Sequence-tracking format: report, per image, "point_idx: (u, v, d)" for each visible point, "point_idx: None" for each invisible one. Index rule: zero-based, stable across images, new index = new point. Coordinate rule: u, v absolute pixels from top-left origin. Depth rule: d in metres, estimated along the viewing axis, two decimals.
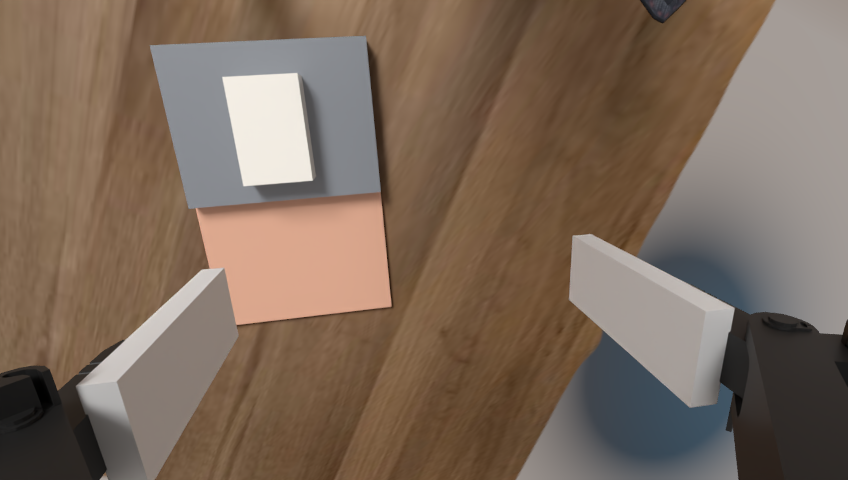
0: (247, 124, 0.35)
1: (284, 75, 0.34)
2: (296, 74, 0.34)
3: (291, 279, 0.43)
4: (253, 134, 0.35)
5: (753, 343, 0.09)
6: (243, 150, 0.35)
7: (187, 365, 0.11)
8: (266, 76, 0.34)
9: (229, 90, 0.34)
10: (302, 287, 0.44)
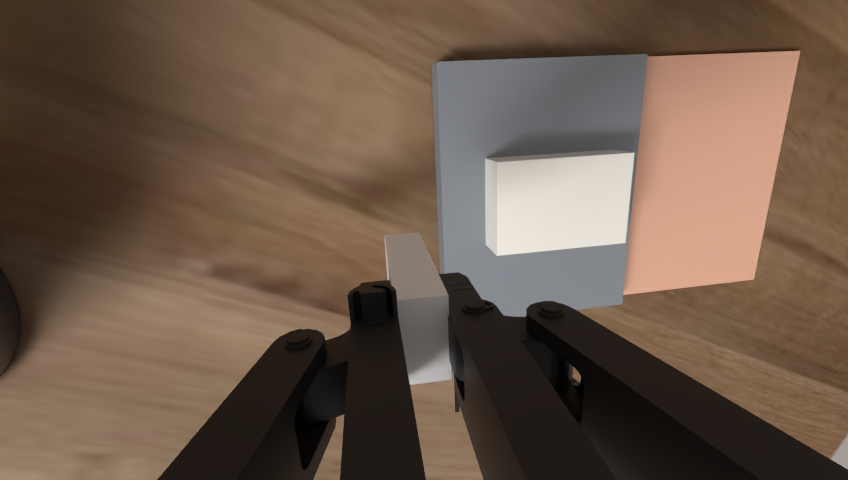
0: (554, 231, 0.27)
1: (499, 179, 0.25)
2: (498, 163, 0.25)
3: (721, 194, 0.32)
4: (566, 224, 0.27)
5: (461, 334, 0.09)
6: (583, 239, 0.27)
7: None
8: (499, 202, 0.25)
9: (512, 248, 0.26)
10: (736, 180, 0.32)
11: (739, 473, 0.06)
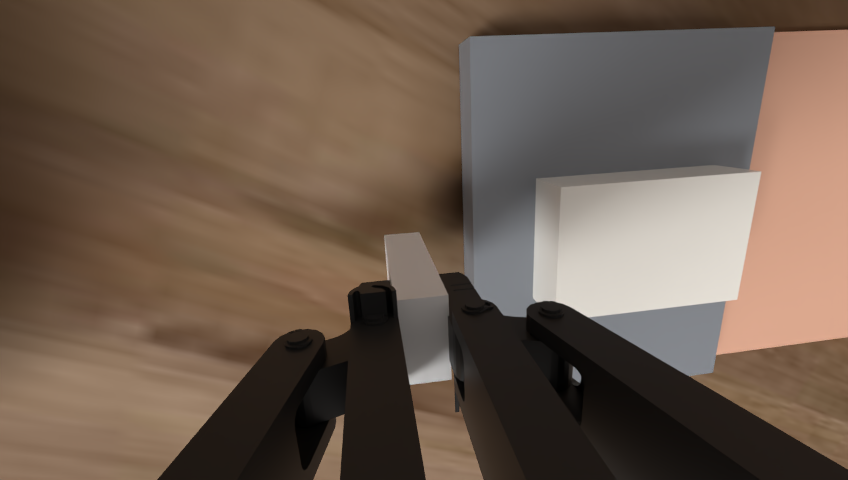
0: (638, 285, 0.18)
1: (563, 212, 0.17)
2: (563, 189, 0.16)
3: (847, 222, 0.24)
4: (656, 275, 0.18)
5: (461, 334, 0.09)
6: (679, 295, 0.19)
7: None
8: (561, 246, 0.17)
9: None
10: None
11: (739, 472, 0.06)
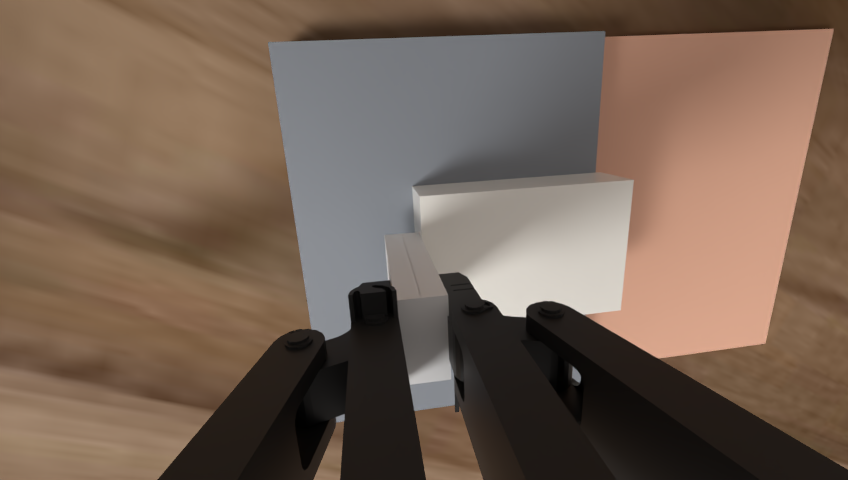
0: (513, 295, 0.18)
1: (424, 222, 0.16)
2: (422, 198, 0.16)
3: (720, 232, 0.23)
4: (531, 286, 0.18)
5: (461, 334, 0.09)
6: None
7: None
8: None
9: None
10: (740, 213, 0.23)
11: (739, 473, 0.06)
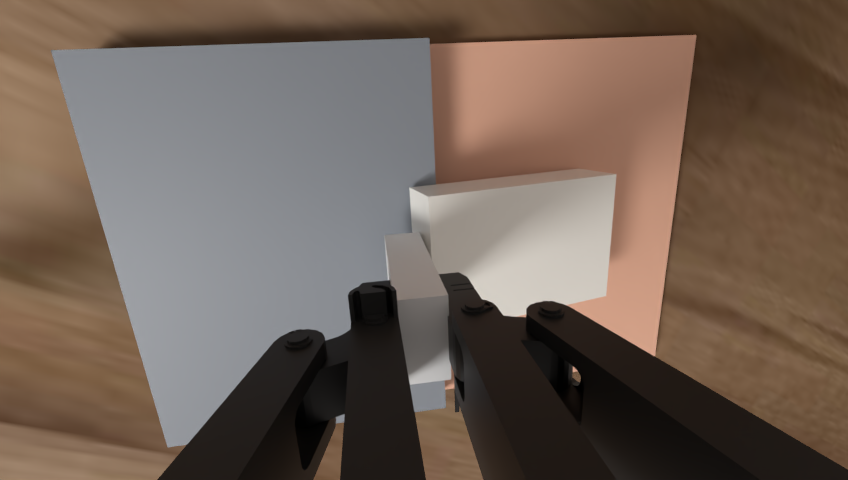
0: (514, 290, 0.18)
1: (433, 223, 0.16)
2: (431, 198, 0.16)
3: None
4: (531, 280, 0.18)
5: (461, 334, 0.09)
6: (554, 296, 0.19)
7: None
8: (434, 257, 0.16)
9: None
10: (613, 226, 0.22)
11: (739, 472, 0.06)
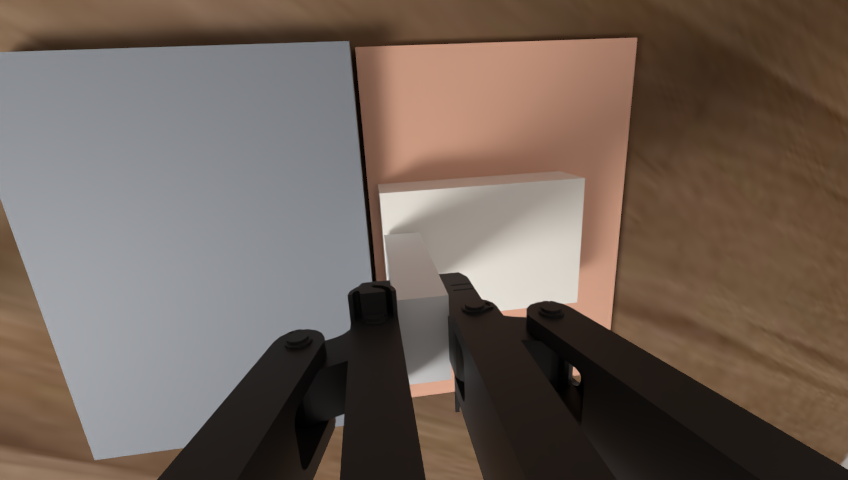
0: None
1: (385, 218, 0.17)
2: (382, 195, 0.17)
3: None
4: (489, 279, 0.19)
5: (462, 334, 0.09)
6: (516, 298, 0.19)
7: None
8: None
9: None
10: None
11: (740, 473, 0.06)
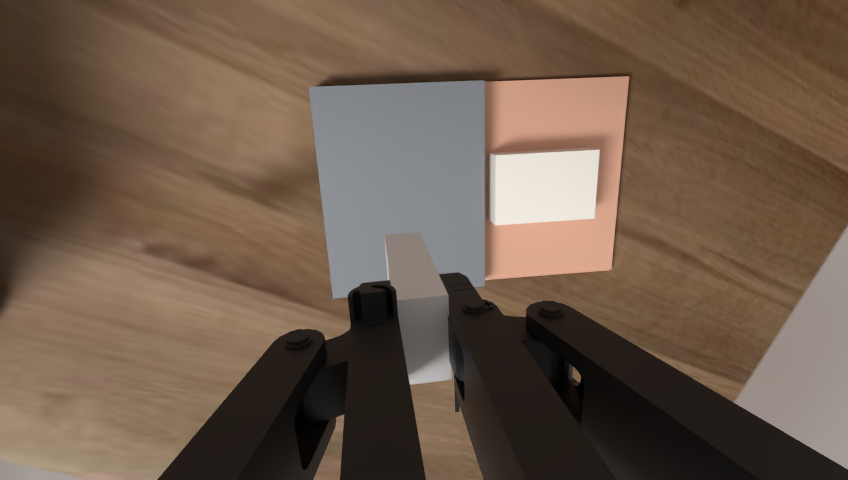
0: (538, 207, 0.35)
1: (497, 168, 0.34)
2: (496, 156, 0.34)
3: None
4: (548, 203, 0.35)
5: (461, 334, 0.09)
6: (561, 214, 0.36)
7: None
8: (497, 185, 0.35)
9: (507, 220, 0.36)
10: None
11: (739, 473, 0.06)
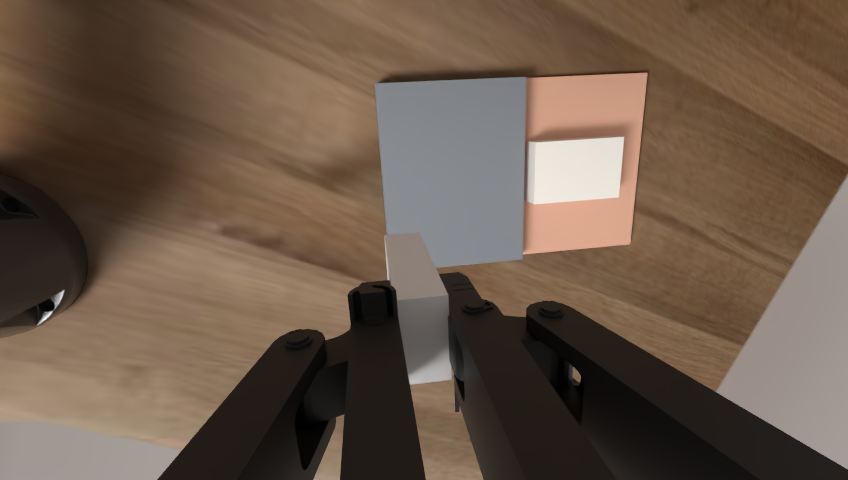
0: (571, 188, 0.41)
1: (536, 153, 0.39)
2: (536, 143, 0.39)
3: None
4: (579, 184, 0.41)
5: (461, 334, 0.09)
6: (590, 194, 0.41)
7: None
8: (536, 168, 0.40)
9: (544, 199, 0.41)
10: None
11: (739, 473, 0.06)
